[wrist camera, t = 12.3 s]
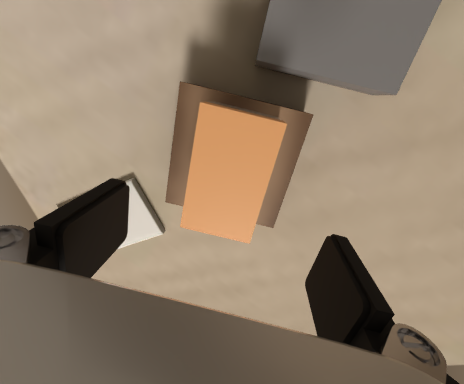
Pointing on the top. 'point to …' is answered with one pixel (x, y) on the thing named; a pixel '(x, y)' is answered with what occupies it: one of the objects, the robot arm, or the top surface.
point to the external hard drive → (140, 217)
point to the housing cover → (230, 170)
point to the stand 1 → (196, 94)
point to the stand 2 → (346, 41)
